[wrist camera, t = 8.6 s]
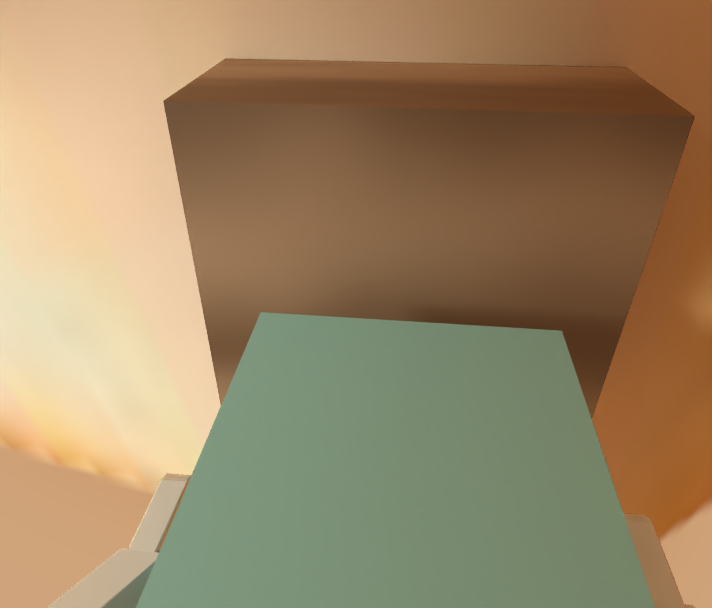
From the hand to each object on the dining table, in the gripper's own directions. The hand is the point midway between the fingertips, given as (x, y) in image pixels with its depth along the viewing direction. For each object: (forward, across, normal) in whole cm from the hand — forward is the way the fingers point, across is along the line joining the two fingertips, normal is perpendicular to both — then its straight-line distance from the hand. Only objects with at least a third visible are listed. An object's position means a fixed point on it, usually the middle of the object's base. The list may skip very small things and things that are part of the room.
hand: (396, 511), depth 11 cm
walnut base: (+11, 0, 0) cm, 11 cm away
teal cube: (+2, 0, 0) cm, 2 cm away
